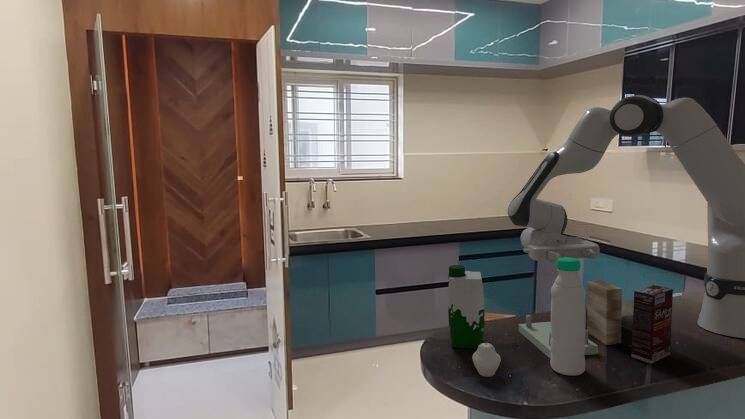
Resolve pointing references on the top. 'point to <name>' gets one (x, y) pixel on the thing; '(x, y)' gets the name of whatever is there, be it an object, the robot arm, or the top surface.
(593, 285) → the upright wooden block
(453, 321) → the milk carton
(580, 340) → the water bottle
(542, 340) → the peg rest
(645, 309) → the supplement box
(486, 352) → the white bulb shape
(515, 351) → the top surface
